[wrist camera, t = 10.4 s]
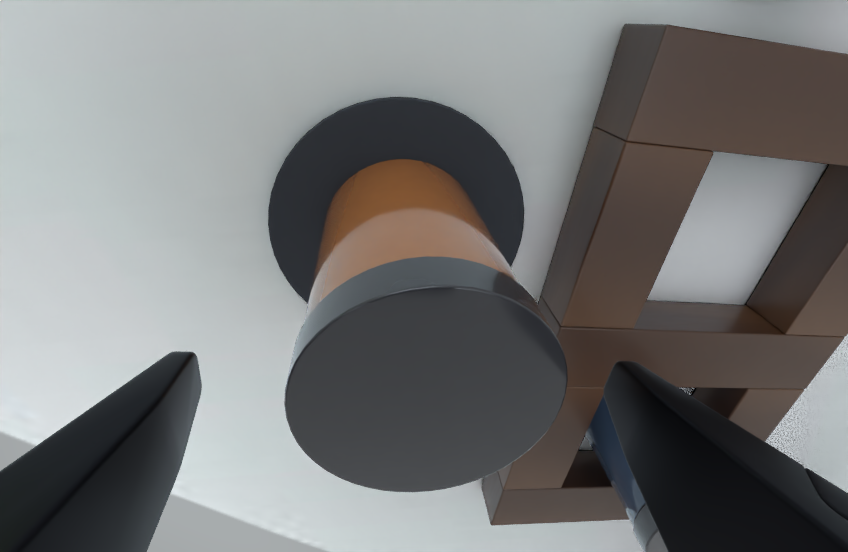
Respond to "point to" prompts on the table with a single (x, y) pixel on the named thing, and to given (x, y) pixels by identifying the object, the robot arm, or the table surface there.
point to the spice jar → (622, 479)
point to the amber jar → (418, 340)
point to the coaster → (376, 142)
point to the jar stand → (653, 236)
